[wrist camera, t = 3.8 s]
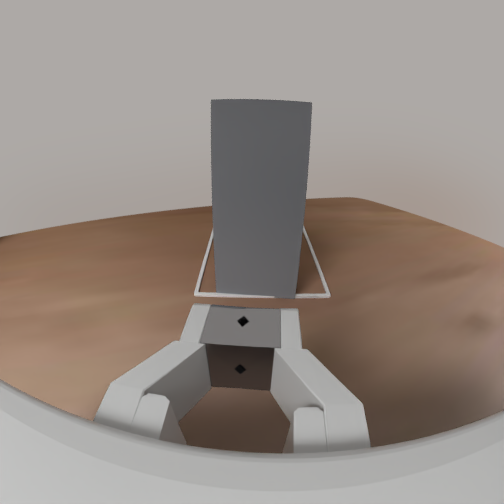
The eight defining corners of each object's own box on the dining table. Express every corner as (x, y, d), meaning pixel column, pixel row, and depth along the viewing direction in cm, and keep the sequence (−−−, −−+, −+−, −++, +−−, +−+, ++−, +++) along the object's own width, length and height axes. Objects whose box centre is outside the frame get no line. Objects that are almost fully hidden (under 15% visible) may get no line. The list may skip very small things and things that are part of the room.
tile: (216, 294, 22) (211, 99, 15) (221, 276, 24) (218, 100, 18) (294, 298, 22) (312, 102, 15) (293, 280, 24) (307, 103, 17)
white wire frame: (193, 294, 22) (218, 212, 37) (194, 300, 22) (218, 216, 38) (331, 295, 22) (298, 213, 38) (329, 301, 22) (298, 217, 38)
